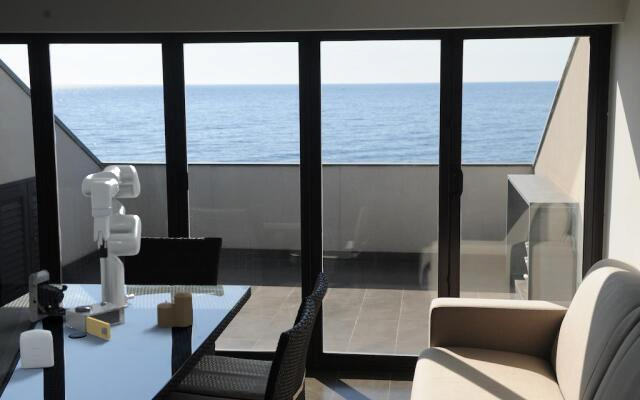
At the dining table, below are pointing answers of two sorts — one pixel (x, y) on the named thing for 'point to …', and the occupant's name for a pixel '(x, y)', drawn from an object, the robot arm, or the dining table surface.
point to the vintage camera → (44, 297)
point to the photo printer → (36, 349)
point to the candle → (176, 311)
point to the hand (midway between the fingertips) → (103, 257)
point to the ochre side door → (97, 327)
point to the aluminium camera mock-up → (95, 314)
